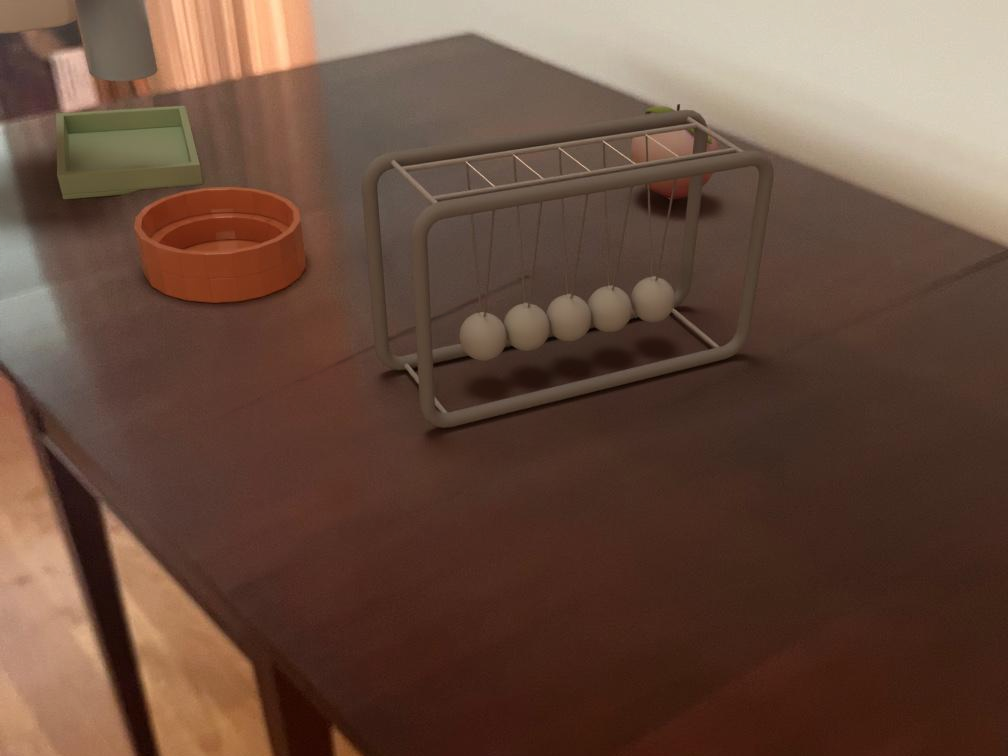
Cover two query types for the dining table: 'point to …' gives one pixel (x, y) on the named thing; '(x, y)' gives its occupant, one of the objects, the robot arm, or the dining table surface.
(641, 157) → the decorative fruit
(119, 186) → the tray
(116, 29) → the bottle
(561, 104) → the dining table surface
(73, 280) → the dining table surface
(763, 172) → the newton's cradle
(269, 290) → the bowl
